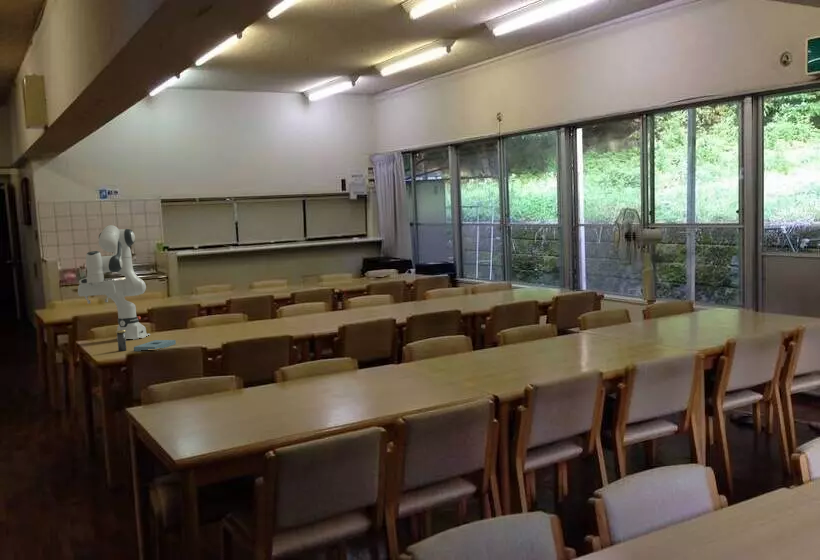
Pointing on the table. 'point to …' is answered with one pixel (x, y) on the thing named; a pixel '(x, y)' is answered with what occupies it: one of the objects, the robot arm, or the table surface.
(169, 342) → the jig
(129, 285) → the robot arm
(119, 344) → the dark grey cylinder
